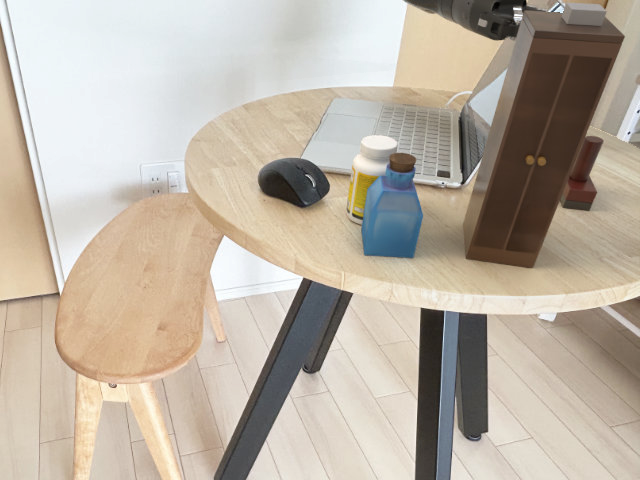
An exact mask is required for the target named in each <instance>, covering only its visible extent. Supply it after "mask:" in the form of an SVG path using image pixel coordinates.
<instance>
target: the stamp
mask: <svg viewBox="0 0 640 480" xmlns="http://www.w3.org/2000/svg"><path fill="white" fill-rule="evenodd" d="M603 144H604V139H603V138H602V137H599V136H595V135H586V136H585V139H584V141H583V144H582V146H581V149H580V151H579V154H578V156H577V159H576V161H575V164H574V166H573V169H572V171H571V174H570V176H569V179H568V181H567V184H566V186H565V189H564V191H563V194H562V196H561V199H560V201H559V202H560V204H561V207H562V208H564V209H573V210H581V211H590V210H591V208H592V206H593V203H594V201H595V199H596V196H597V194H598V190H597V189H596V186H595V184H594V182H593V180H592V178H591V176H590V174H591V172H592V170H593V168H594V166H595V163H596V161H597V158H598V156H599V153H600V151H601V149H602V147H603Z"/></svg>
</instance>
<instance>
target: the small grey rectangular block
mask: <svg viewBox="0 0 640 480" xmlns="http://www.w3.org/2000/svg"><path fill="white" fill-rule="evenodd" d="M563 10H564V11H563V14H562V18H563V20H564V21H565V22H566V23H567V24H572V25H588V26H602V23H603V20H604V18H605V17H606V14H607V12H608V10H606V9H605V8H604V7H603V6H602V5H601V4H598V3H583V2H582V3H581V2H566V3H565V4H564V8H563Z"/></svg>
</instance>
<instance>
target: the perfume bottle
mask: <svg viewBox="0 0 640 480" xmlns="http://www.w3.org/2000/svg"><path fill="white" fill-rule="evenodd" d="M389 160H390V163H389V164H388V165H387V167H386V172H385V175H386V176H379V177H378V178H377V179H376V180H375V182H374V183H373V184H372V185H371V186H370V187H369V188H368V190H367V196H366V203H365V209H364V215H363V222H362V225H361V229H360V230H361V241H362V248H363V256H372V257H374V256H375V257H390V258H406V259H407V258H408V259H414V257H415V253H416V250H417V244H418V240H419V236H420V231H421V227H422V222H423V218H424V213H423V209H422V206H421V205H422V204H421V202H420V198H419V194H418V192H417V188H416V185H415V180H414V178H415V175H416V170H417V169H416V167H415V165H416V162H417V157H416V156H415V155H413V154H410V153H407V152H397V153H394V154H391V155H390V157H389Z"/></svg>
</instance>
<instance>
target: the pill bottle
mask: <svg viewBox="0 0 640 480" xmlns="http://www.w3.org/2000/svg"><path fill="white" fill-rule="evenodd" d="M398 146H399V144H398V141H397V140H396V139H394V138H392V137H390V136H386V135H381V134H380V135H379V134H374V135H373V134H372V135H368V136H365V137H363V138H362V139H361V141H360V146H359V153H358V154H357V155H355V157H354V158H353V160H352V164H351V170H350V171H351V172H350V178H349V179H350V180H349V186H348V195H347V202H346V210H345V211H346V216H347V217H348V218H349V220H350V221H352V222H353V223H355V224H357V225H359V226H362V222H363V215H364V209H365V203H366V196H367V190H368V188H369V187H370V186H371V185H372V184H373V183H374V182H375V180H376V179H377V178H378V177H379V176H386V175H385V172H386V167H387V165H388V164H389V163H390V160H389V157H390V155H391V154H394V153H398V148H399V147H398Z"/></svg>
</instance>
